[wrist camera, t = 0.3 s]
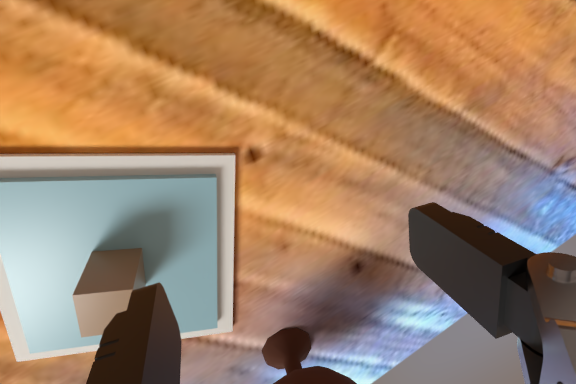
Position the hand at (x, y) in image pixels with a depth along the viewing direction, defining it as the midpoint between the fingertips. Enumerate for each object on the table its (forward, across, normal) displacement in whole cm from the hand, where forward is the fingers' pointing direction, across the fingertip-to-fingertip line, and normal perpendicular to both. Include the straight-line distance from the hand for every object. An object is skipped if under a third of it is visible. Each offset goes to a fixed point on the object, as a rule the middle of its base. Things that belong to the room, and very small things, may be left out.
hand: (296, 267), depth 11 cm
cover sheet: (+18, +11, +7) cm, 22 cm away
